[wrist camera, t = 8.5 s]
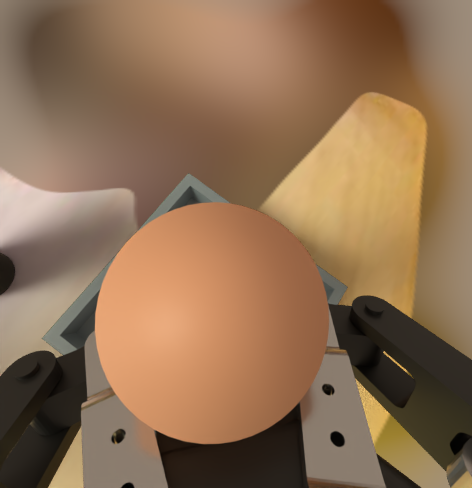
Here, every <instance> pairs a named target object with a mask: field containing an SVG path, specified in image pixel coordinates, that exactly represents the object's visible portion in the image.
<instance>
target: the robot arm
mask: <svg viewBox="0 0 472 488" xmlns="http://www.w3.org/2000/svg"><path fill="white" fill-rule="evenodd" d="M328 308H329V332H328V340H327V345H326V350H325V354H324V357H323V360H322V363H321V366H320V369H319V371H318V373H317V375H316V377H315V379H314V381H313V383H312V385H311V386H310V388H309V389H308V391H307V392H306V394H305V396H304V397H303V398H302V399H301V400H300V401H299V403H298V404H297V405H296V406H295V407H294V408H293V409H292V410H291V411H290V412H289V413H288V414H287V415H286V416H284V417H283V418H282V419H281V420H279V421H278V422H277V423H275V424H274V425H272V426H271V427H269V428H268V429H266V430H264V431H261V432H259V433H257V434H255V435H253V436H251V437H247V438H244V439H241V440H238V441H233V442H227V443H221V444H199V443H192V442H185V441H182V440H178V439H175V438H172V437H169V436H167V435H165V434H162V433H160V432H158V431H156V430H154V429H152V428H151V427H149V426H148V425H147V424H145V423H144V422H142V421H141V420H139V419H138V418H137V417H136V416H135V415H134V414H133V413H132V412H131V411H129V410H128V409H127V408H126V406H125V405H124V404H123V403H122V401H121V400H120V399H119V398H118V396H117V395H116V394H115V392H114V390H113V389H112V387H111V385H110V383H109V382H108V380H107V378H106V375H105V373H104V370H103V368H102V365H101V362H100V358H99V354H98V350H97V345H96V336H95V330H94V331H93V332H92V333H91V334H90V335H89V337H88V338H87V340H86V342H85V346H83V347H81V348H79V349H77V350H75V351H73V352H70V353H68V354H65V355H63V356H61V357H58V358H56V357H55V356H54V354H53V353H51V352H49V351H36V352H33V353H30V354H28V355H25V356H23V357H22V358H20V359H18V360H17V361H15V362H14V363H13V364H12V365H11V366H9V367H8V368H7V370H6V371H5V372H4V373H3V374H2V375H1V376H0V488H48V486H49V485H50V483H51V481H52V479H53V477H54V475H55V473H56V471H57V470H58V468H59V466H60V464H61V462H62V460H63V458H64V457H65V455H66V453H67V451H68V449H69V447H70V445H71V443H72V442H73V440H74V438H75V436H76V434H77V432H78V430H79V429H80V427H81V426H82V454H83V481H84V488H421V487H420V486H418V485H417V484H416V483H414V482H413V481H412V480H410V479H409V478H408V477H407V476H405V475H404V474H403V473H401V472H400V471H399V470H397V469H396V468H394V467H393V466H392V465H391V464H390V463H388V462H387V461H386V460H384V459H383V458H382V457H380V456H379V455H378V454H376V451H375V448H374V444H373V441H372V437H371V434H370V430H369V427H368V423H367V419H366V416H365V412H364V409H363V405H362V402H361V398H360V395H359V391H358V388H357V384H356V381H355V378H356V379H357V380H358V381H359V382H360V383H361V384H362V385H363V387H364V388H365V389H366V390H367V391H368V392H369V393H370V394H371V395H372V396H373V397H374V398H375V399H376V400H377V401H378V402H379V403H380V404H381V405H382V406H383V407H384V408H385V409H386V410H387V411H388V412H389V413H390V414H391V415H392V416H393V417H394V418H395V419H396V420H397V422H398V423H400V424H401V426H402V427H403V428H404V429H405V430H406V431H407V432H408V433H409V434H410V435H411V436H412V437H413V438H414V439H415V440H416V441H417V442H418V443H419V444H420V445H421V446H422V447H423V448H424V449H425V450H426V451H427V452H428V453H429V454H430V455H431V456H432V457H433V458H434V460H436V462H437V463H438V464H439V465H440V466H441V467H442V468H443V469H444V470H445V471H446V472H447V479H448V482H449V485H450V488H472V360H471V359H470V358H468V357H467V356H465V355H464V354H462V353H461V352H459V351H458V350H456V349H455V348H454V347H452V346H451V345H449V344H448V343H446V342H445V341H443V340H442V339H440V338H439V337H437V336H436V335H435V334H433V333H432V332H430V331H428V330H427V329H426V328H424V327H423V326H421V325H420V324H418V323H417V322H416V321H414V320H413V319H411V318H410V317H408V316H407V315H405V314H404V313H402V312H401V311H399V310H398V309H397V308H395V307H394V306H392V305H391V304H389V303H388V302H386V301H385V300H383V299H380V298H378V297H374V296H360V297H357V298H356V299H355V300H354V301H353V303H352V306H345V305H334V304H329V303H328ZM384 351H385V352H386V353H387V354H388V355H389V356H391V357H392V358H393V359H394V360H395V361H397V362H398V363H399V364H400V365H401V366H402V367H404V368H405V369H406V370H407V371H408V372H409V373H410V374H411V375H412V377H413V378H414V379H413V378H412V377H411V376H410V375H408V374H407V373H406V372H405V371H404V370H403V369H401V368H400V367H399V366H398V365H397V364H396V363H394V362H393V361H392V360H391V359H390V358H389V357H387V356H386V355H385V354H384V353H383V352H384ZM24 431H25V432H24ZM22 434H23V435H22ZM13 447H14V448H13ZM11 450H12V451H11Z"/></svg>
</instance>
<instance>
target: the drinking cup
mask: <svg viewBox="0 0 472 488" xmlns="http://www.w3.org/2000/svg"><path fill="white" fill-rule="evenodd" d="M14 275H15V269H14V265H13V263H12V261H11V260H10V259H9V258H8V257H7V256H6V255H4V254H2V253H0V294H2V293H3V292H5V291H6V290H7V289H8V288H9V286H10V285H11V283H12V281H13V279H14Z"/></svg>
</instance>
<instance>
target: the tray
mask: <svg viewBox="0 0 472 488" xmlns="http://www.w3.org/2000/svg"><path fill="white" fill-rule="evenodd" d="M210 202H220V203H230V202H228V201H227V200H225V199H224V198H223V197H221V196H220V195H218V194H217V193H216V192H214V191H213V190H211V189H210V188H209V187H207V186H206V185H204V184H203V183H201V182H200V181H199V180H197V179H196V178H195V177H193V176H192V175H190V174H189V173H188V174H187V175H186V177H185V178H184V179H183V180H182V181H181V182H180V183H179V185H178V186H177V187H176V188H175V189H174V190H173V191H172V192H171V193H170V195H169V196H168V197H167V198H166V199H165V200H164V202H162V204H161V205H160V206H159V207H158V208H157V209H156V210H155V212H154V213H153V214H152V215H151V216H150V217H149V218H148V219H147V221H146V222H145V223H144V224H143V225H142V226H141V227H140V228H139V230H140V229H141V228H143V227H144V226H145V225H146V224H148V223H149V222H151V221H152V220H154V219H156V218H158V217H159V216H161V215H163V214H165V213H167V212H170V211H172V210H174V209H177V208H181V207H184V206H187V205H193V204H198V203H210ZM139 230H138V231H139ZM118 253H119V252H118ZM118 253H117V254H118ZM117 254H116V255H117ZM116 255H115V257H116ZM115 257H114V258H113V259H112V260H111V261H110V262H109V263H108V265H107V266H106V267H105V268H104V269H103V270H102V271H101V272H100V274H99V275H98V276H97V277H96V278H95V279H94V280H93V281H92V283H91V284H90V285H89V286H88V287H87V288H86V289H85V290H84V292H83V293H82V294H81V295H80V296H79V297H78V298H77V299H76V301H75V302H74V303H73V304H72V305H71V306H70V307H69V308H68V310H67V311H66V312H65V313H64V314H63V315H62V316H61V317H60V319H59V320H58V321H57V322H56V323H55V324H54V325H53V327H52V328H51V329H50V330H49V331H48V332H47V333H46V334H45V336H44V337H43V338H42V339H43V340H44V341H46V342H47V343H48V344H49V345H51V346H52V347H53V348H55V349H56V350H57V351H58V352H60V353H61V354H62V355H65V354H68V353H70V352H73V351H75V350H77V349H79V348H81V347H83V346H85V342H86V340H87V338H88V337H89V335H90V334H91V333H92V332H93V331H94V330H95V313H96V307H97V301H98V296H99V293H100V289H101V286H102V283H103V280H104V278H105V276H106V273H107V271H108V269H109V267H110V265H111V264H112V262H113V260H114V259H115ZM316 266H317V269H318V271H319V273H320V276H321V278H322V281H323V284H324V288H325V291H326V296H327V302H328V303H329V304H334V305H338V303H339V301H340V300H341V298H342V296H343V294H344V293H345V291H346V289H347V288H348V287H347V286H346V285H344V284H343V283H341V282H340V281H339V280H337V279H336V278H334V277H333V276H332V275H330V274H329V273H327V272H326V271H325V270H323V269H322V268H320V267H319V266H318V265H316Z"/></svg>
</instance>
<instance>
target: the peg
mask: <svg viewBox="0 0 472 488" xmlns="http://www.w3.org/2000/svg"><path fill="white" fill-rule="evenodd" d="M328 332H329V308H328V302H327V296H326V291H325V288H324V284H323V281H322V278H321V276H320V273H319V271H318V269H317V266H316V264H315V263H314V261H313V259H312V258H311V256H310V254H309V253H308V251H307V250H306V249H305V247H304V246H303V245H302V243H301V242H300V241H299V240H298V239H297V238H296V237H295V236H294V235H293V234H292V233H291V232H290V231H289V230H288V229H287V228H285V227H284V226H283V225H282V224H280V223H279V222H277V221H276V220H274V219H272V218H271V217H269V216H267V215H265V214H263V213H261V212H259V211H257V210H254V209H251V208H248V207H245V206H241V205H236V204H231V203H220V202H210V203H198V204H193V205H187V206H184V207H181V208H177V209H174V210H172V211H170V212H167V213H165V214H163V215H161V216H159V217H158V218H156V219H154V220H152V221H151V222H149V223H148V224H146V225H145V226H144V227H143V228H141V229H140V230H139V231H137V232H136V233H135V234H134V235H133V236H132V237H131V238H130V239H129V240H128V241H127V242H126V244H125V245H124V246H123V247H122V249H121V250H120V251H119V253H118V254H117V255H116V257H115V259H114V260H113V262H112V264H111V265H110V267H109V269H108V271H107V273H106V276H105V278H104V280H103V283H102V286H101V289H100V293H99V296H98V301H97V307H96V313H95V336H96V345H97V350H98V354H99V358H100V362H101V365H102V368H103V370H104V373H105V375H106V378H107V380H108V382H109V383H110V385H111V387H112V389H113V390H114V392H115V394H116V395H117V396H118V398H119V399H120V400H121V401H122V403H123V404H124V405H125V406H126V408H127V409H128V410H129V411H131V412H132V413H133V414H134V415H135V416H136V417H137V418H138V419H139V420H141V421H142V422H144V423H145V424H147V425H148V426H149V427H151V428H152V429H154V430H156V431H158V432H160V433H162V434H165V435H167V436H169V437H172V438H175V439H178V440H182V441H185V442H192V443H199V444H221V443H227V442H233V441H238V440H241V439H244V438H247V437H251V436H253V435H255V434H257V433H259V432H261V431H264V430H266V429H268V428H269V427H271V426H272V425H274V424H275V423H277V422H278V421H279V420H281V419H282V418H283V417H284V416H286V415H287V414H288V413H289V412H290V411H291V410H292V409H293V408H294V407H295V406H296V405H297V404H298V403H299V401H300V400H301V399H302V398H303V397H304V396H305V394H306V392H307V391H308V389H309V388H310V386H311V385H312V383H313V381H314V379H315V377H316V375H317V373H318V371H319V369H320V366H321V363H322V360H323V357H324V354H325V350H326V345H327V340H328Z"/></svg>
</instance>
